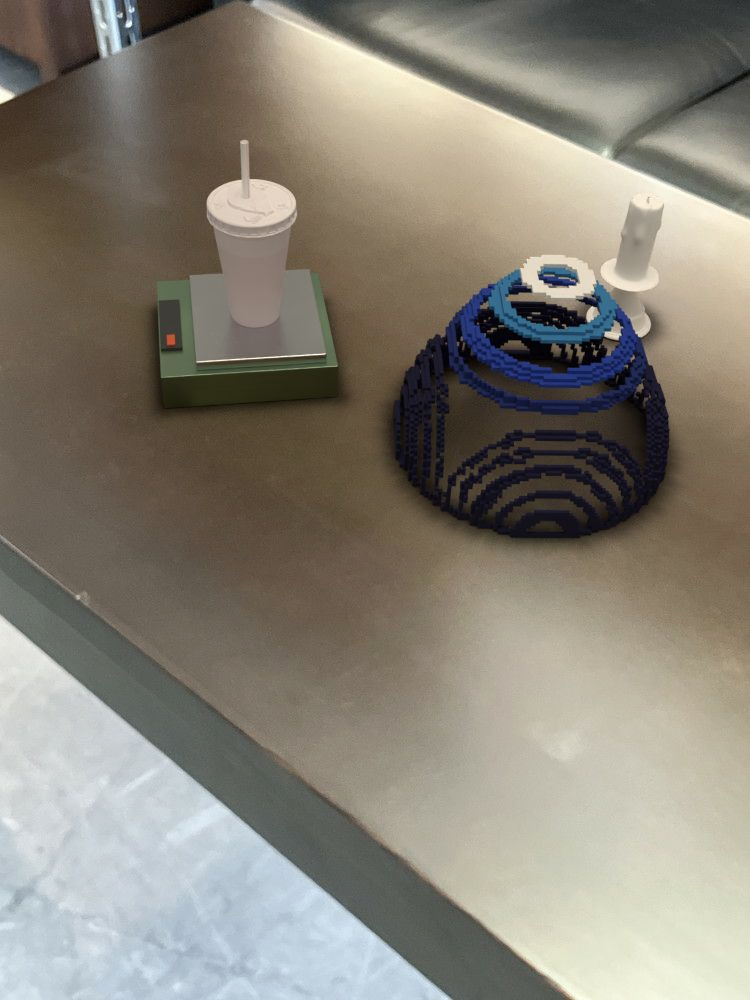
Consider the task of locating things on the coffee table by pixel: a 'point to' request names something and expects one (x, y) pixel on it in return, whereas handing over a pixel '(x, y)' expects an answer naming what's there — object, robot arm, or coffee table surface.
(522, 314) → the decorative bowl
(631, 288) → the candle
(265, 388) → the scale
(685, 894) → the coffee table surface
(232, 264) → the smoothie
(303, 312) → the scale platform
